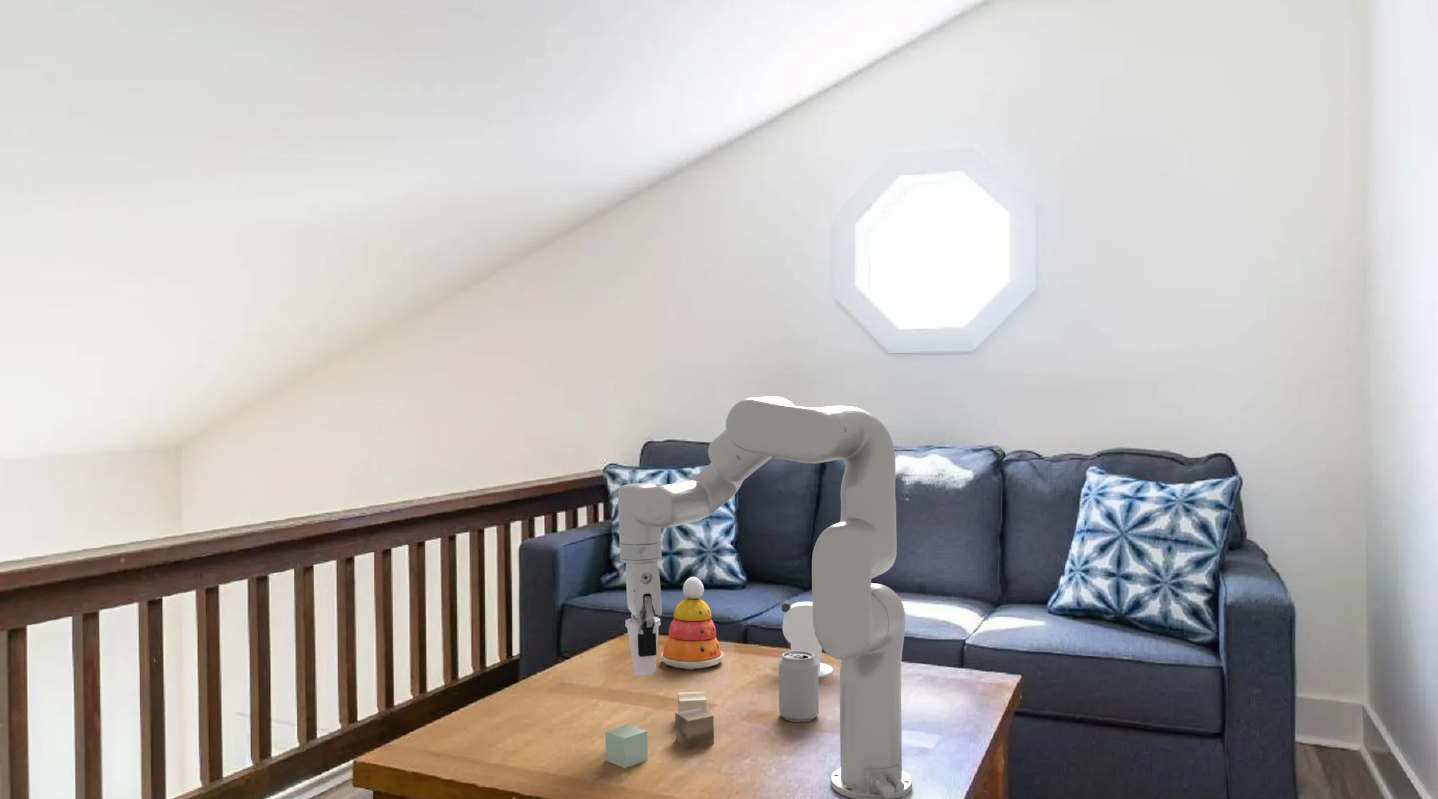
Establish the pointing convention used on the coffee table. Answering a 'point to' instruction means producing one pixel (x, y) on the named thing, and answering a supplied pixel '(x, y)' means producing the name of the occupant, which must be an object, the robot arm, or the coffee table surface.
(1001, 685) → the coffee table surface
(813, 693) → the can
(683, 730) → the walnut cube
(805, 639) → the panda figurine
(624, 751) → the sage painted cube
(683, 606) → the stacking toy
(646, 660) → the smoothie
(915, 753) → the coffee table surface
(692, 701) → the maple cube
